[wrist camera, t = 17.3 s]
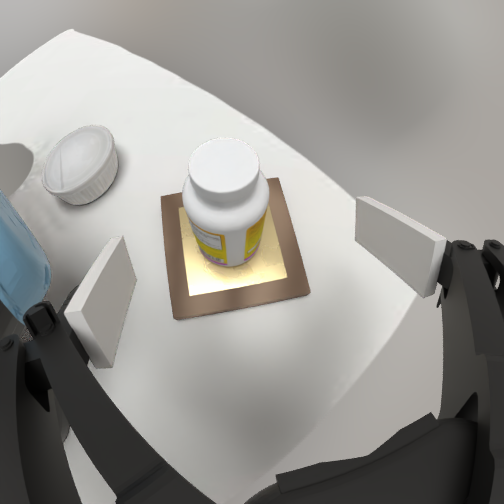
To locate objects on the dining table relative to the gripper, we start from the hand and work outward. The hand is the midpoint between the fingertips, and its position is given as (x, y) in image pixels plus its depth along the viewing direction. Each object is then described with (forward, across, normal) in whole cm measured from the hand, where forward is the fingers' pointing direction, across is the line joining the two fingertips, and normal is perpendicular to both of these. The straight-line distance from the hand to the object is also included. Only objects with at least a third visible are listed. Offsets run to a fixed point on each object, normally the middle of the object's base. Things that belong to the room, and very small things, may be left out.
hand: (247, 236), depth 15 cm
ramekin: (+25, -18, +3) cm, 31 cm away
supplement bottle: (+14, 0, -6) cm, 15 cm away
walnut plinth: (+14, 0, -7) cm, 16 cm away
